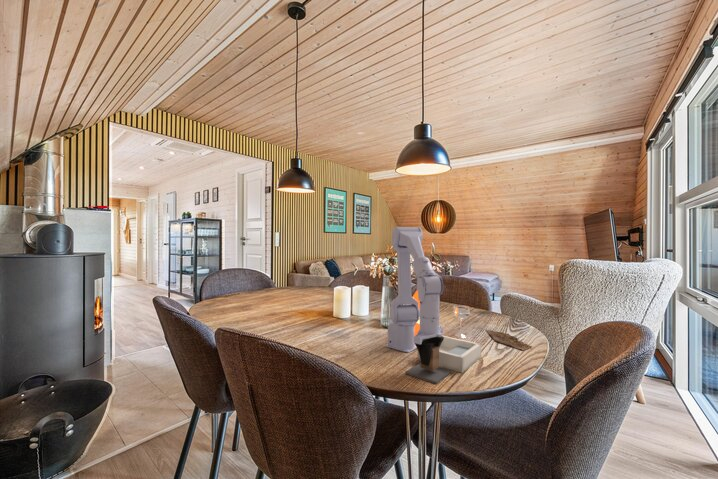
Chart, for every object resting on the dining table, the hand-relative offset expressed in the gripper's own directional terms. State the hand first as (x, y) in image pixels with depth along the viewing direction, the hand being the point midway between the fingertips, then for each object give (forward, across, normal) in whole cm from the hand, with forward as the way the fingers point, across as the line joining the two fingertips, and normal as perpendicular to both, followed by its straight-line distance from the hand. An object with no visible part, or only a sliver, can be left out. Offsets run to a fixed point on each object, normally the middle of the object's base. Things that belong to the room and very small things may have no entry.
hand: (428, 362), depth 94 cm
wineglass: (+3, +42, +7) cm, 43 cm away
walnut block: (+1, 0, 0) cm, 1 cm away
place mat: (+3, 0, 0) cm, 3 cm away
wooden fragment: (+4, +49, -8) cm, 50 cm away
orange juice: (+3, +32, +19) cm, 37 cm away
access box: (+3, +15, 0) cm, 15 cm away
